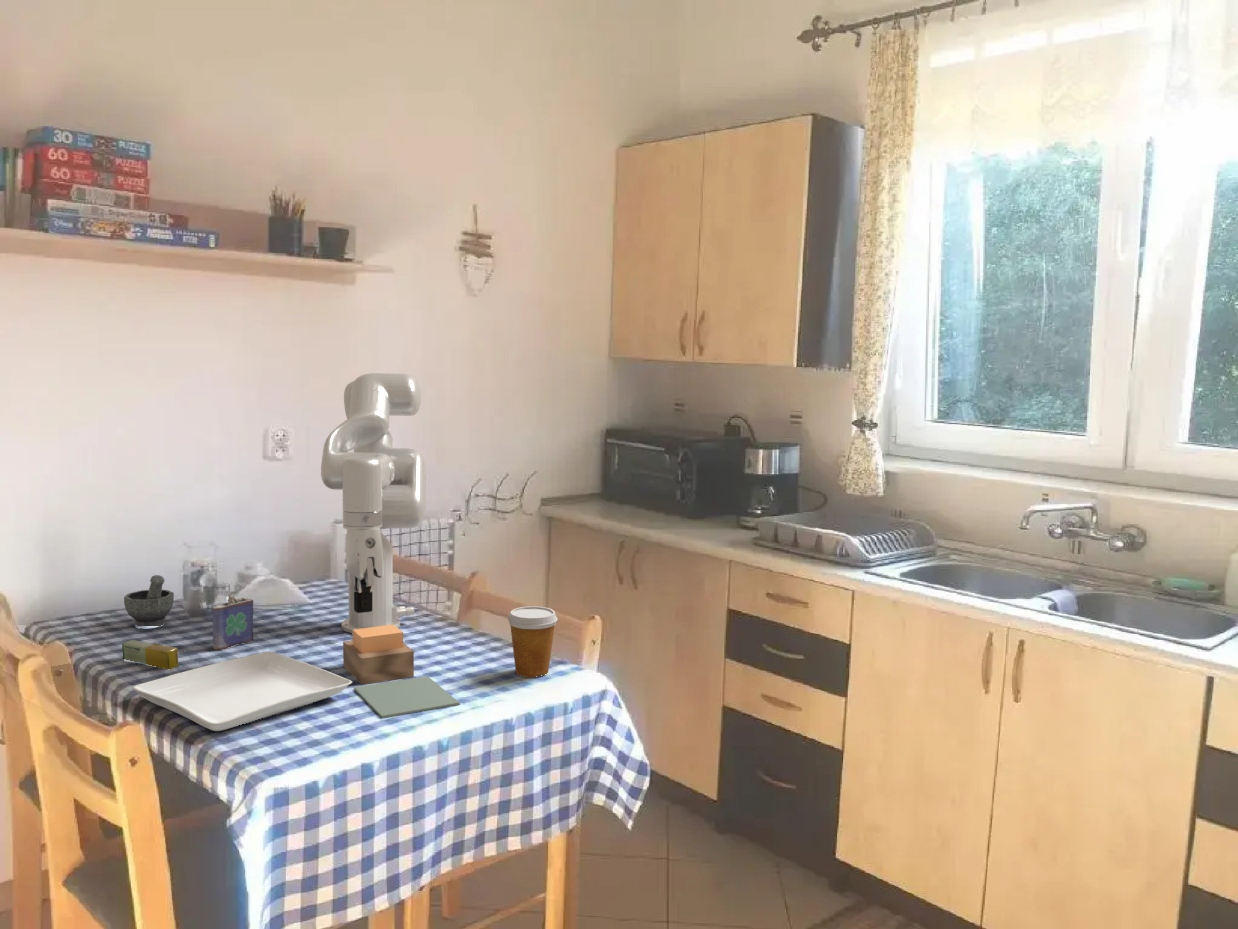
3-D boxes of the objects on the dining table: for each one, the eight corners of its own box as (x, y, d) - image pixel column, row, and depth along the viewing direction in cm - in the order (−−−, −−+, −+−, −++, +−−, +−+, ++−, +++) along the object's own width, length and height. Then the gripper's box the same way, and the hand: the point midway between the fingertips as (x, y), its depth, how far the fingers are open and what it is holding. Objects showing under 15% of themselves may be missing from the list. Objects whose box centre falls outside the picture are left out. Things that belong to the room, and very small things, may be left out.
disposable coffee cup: (563, 667, 203) (564, 608, 202) (546, 683, 194) (547, 620, 193) (517, 662, 206) (518, 604, 204) (499, 677, 197) (500, 616, 195)
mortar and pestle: (119, 624, 226) (117, 571, 225) (162, 617, 233) (161, 564, 231) (139, 635, 218) (136, 580, 217) (183, 627, 225) (181, 573, 224)
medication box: (121, 662, 202) (120, 642, 201) (133, 658, 204) (132, 638, 203) (168, 671, 197) (167, 651, 196) (179, 667, 200) (178, 647, 199)
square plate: (269, 667, 201) (268, 648, 200) (355, 700, 184) (355, 679, 183) (130, 704, 180) (129, 682, 180) (213, 745, 163) (212, 721, 162)
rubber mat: (427, 678, 195) (427, 676, 195) (459, 704, 182) (459, 702, 182) (354, 689, 188) (354, 687, 188) (382, 718, 175) (382, 716, 175)
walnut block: (393, 659, 206) (393, 634, 206) (413, 676, 196) (413, 651, 196) (343, 666, 201) (343, 641, 201) (361, 684, 191) (361, 658, 190)
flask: (217, 651, 209) (216, 599, 208) (209, 648, 211) (207, 597, 209) (256, 641, 217) (255, 591, 215) (247, 638, 218) (246, 589, 217)
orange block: (393, 639, 203) (393, 624, 202) (403, 647, 198) (403, 632, 197) (352, 644, 199) (352, 629, 198) (362, 653, 194) (361, 637, 193)
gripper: (393, 523, 198) (394, 617, 200) (369, 513, 211) (370, 602, 213) (354, 526, 194) (355, 622, 196) (333, 515, 207) (333, 605, 209)
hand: (363, 611), depth 204 cm, fingers closed
